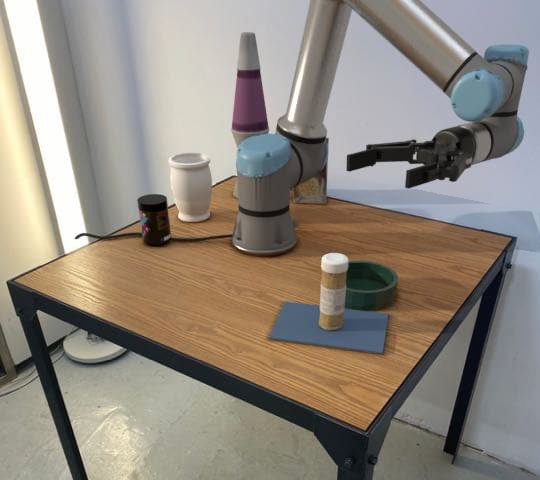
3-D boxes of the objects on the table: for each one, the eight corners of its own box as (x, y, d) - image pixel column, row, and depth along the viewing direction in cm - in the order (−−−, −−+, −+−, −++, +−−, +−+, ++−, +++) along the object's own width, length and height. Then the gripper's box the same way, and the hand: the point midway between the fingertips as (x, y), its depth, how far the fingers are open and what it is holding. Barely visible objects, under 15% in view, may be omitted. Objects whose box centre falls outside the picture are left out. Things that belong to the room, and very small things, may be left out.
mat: (268, 339, 101) (268, 337, 100) (285, 303, 111) (285, 301, 111) (382, 354, 97) (382, 352, 96) (388, 316, 107) (388, 313, 107)
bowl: (322, 306, 110) (323, 288, 108) (332, 274, 121) (334, 257, 118) (392, 314, 107) (395, 296, 105) (397, 281, 118) (400, 264, 116)
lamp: (275, 198, 159) (275, 34, 135) (237, 202, 156) (231, 36, 133) (264, 186, 167) (263, 29, 144) (229, 189, 165) (221, 31, 141)
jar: (211, 224, 143) (207, 164, 135) (171, 224, 144) (164, 164, 135) (216, 209, 152) (212, 151, 143) (177, 209, 152) (171, 151, 143)
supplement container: (153, 234, 139) (147, 192, 133) (177, 238, 137) (172, 196, 130) (137, 245, 134) (131, 202, 127) (162, 249, 131) (157, 206, 125)
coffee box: (327, 196, 159) (330, 137, 150) (325, 205, 154) (328, 144, 145) (294, 195, 161) (296, 136, 151) (291, 203, 155) (292, 142, 146)
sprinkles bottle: (336, 316, 106) (341, 250, 98) (347, 329, 102) (353, 261, 95) (314, 321, 105) (317, 254, 97) (324, 333, 101) (328, 265, 93)
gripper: (515, 182, 98) (433, 211, 88) (405, 156, 115) (326, 178, 105) (524, 136, 93) (439, 161, 83) (408, 116, 110) (326, 135, 100)
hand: (376, 171), depth 94 cm, fingers open, 13 cm apart
